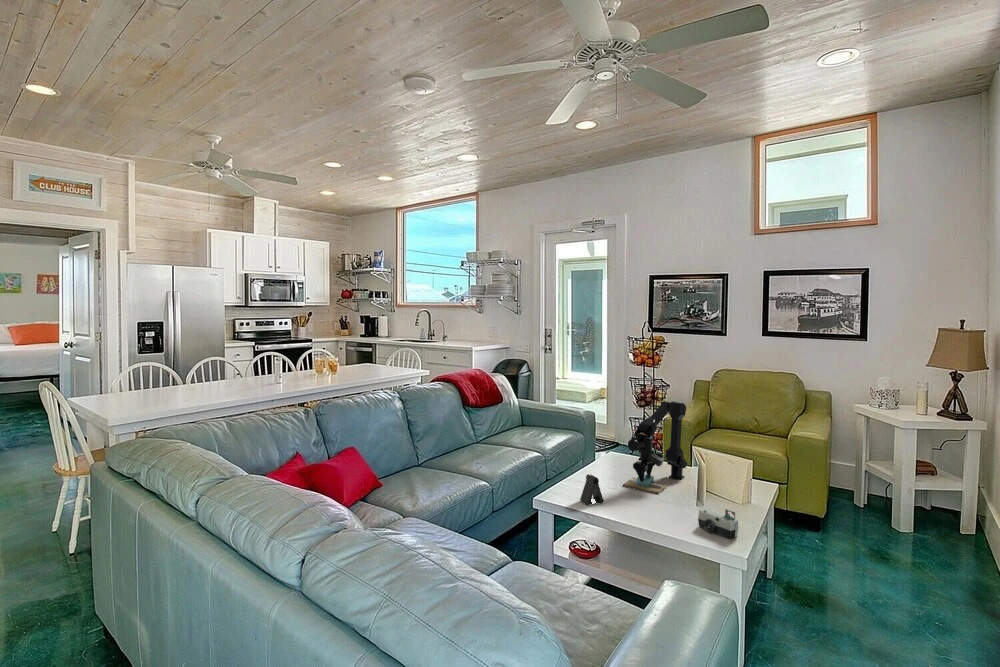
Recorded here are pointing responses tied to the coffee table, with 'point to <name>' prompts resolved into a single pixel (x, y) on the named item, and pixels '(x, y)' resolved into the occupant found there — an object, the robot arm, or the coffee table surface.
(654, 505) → the coffee table surface
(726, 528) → the camera
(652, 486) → the rail plate
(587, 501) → the phone stand
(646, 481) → the block
